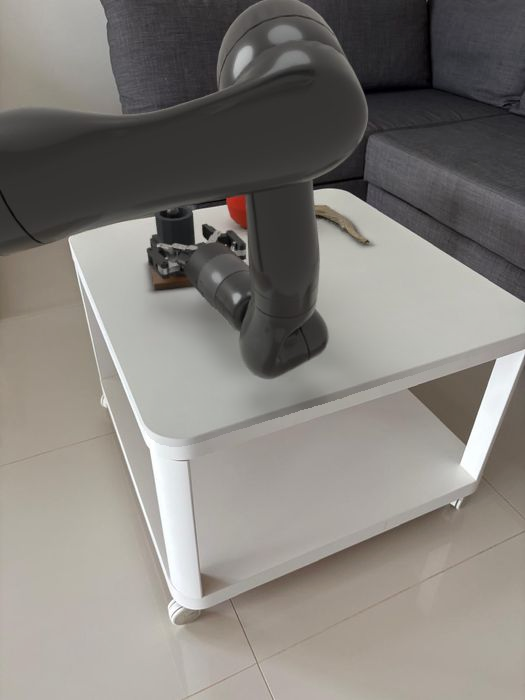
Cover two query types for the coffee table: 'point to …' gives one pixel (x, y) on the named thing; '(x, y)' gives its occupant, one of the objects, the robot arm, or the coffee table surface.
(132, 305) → the coffee table surface
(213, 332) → the coffee table surface
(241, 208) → the apple
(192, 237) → the sleeve
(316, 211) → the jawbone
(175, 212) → the stand
